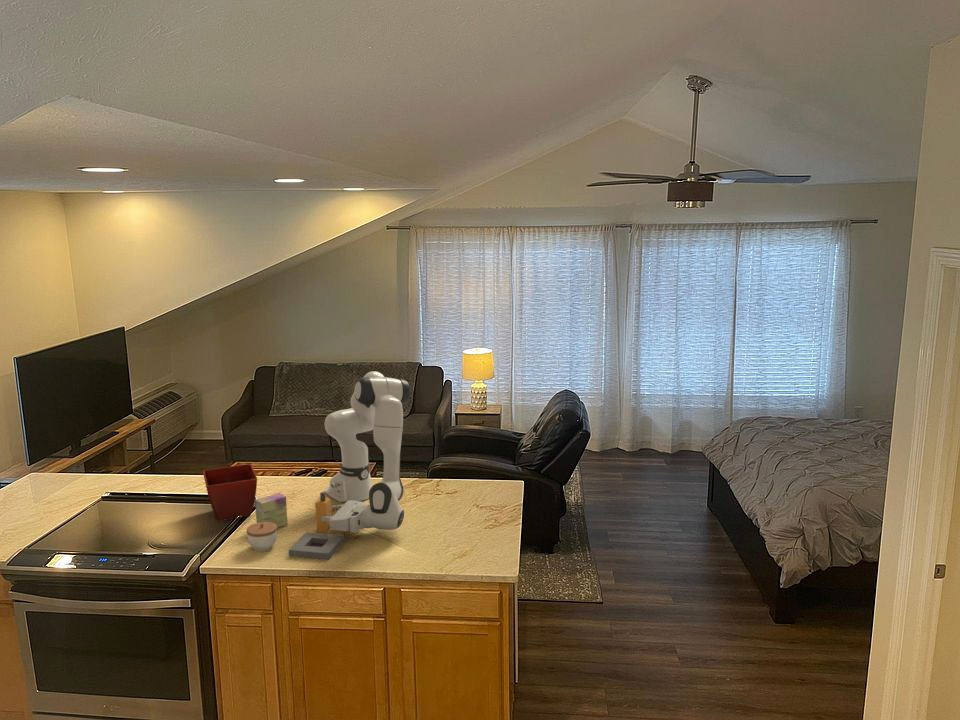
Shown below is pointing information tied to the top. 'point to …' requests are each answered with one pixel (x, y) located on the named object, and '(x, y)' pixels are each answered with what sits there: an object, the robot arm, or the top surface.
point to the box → (272, 509)
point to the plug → (322, 513)
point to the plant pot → (231, 490)
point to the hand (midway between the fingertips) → (327, 513)
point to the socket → (316, 546)
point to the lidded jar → (262, 535)
